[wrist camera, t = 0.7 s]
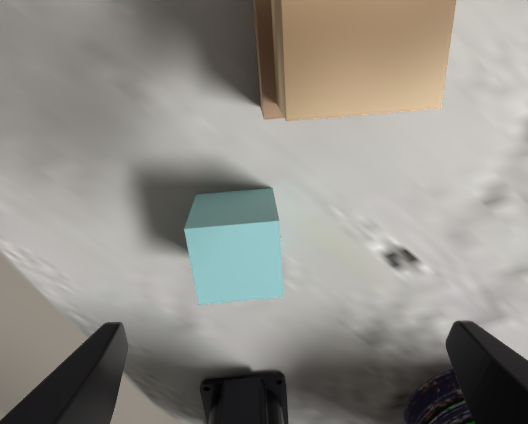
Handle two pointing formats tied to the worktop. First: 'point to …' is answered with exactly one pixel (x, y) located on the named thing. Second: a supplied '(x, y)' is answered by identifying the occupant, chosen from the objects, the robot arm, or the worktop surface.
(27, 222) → the worktop surface
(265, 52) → the tower base
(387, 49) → the tower top
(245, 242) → the teal cube
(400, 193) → the worktop surface
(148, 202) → the worktop surface
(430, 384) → the storage jar
